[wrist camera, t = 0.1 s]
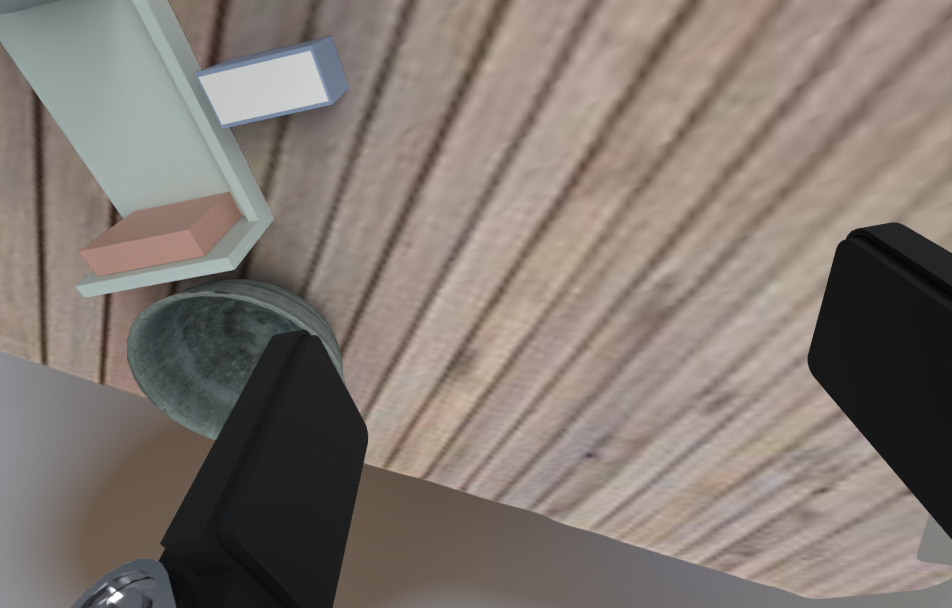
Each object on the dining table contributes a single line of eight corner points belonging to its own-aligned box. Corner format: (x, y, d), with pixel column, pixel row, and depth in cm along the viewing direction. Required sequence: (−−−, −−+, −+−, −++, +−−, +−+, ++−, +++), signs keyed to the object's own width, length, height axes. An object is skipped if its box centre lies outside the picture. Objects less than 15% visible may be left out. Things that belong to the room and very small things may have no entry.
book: (228, 60, 39) (193, 73, 34) (332, 35, 38) (311, 45, 33) (251, 109, 41) (221, 129, 36) (349, 88, 40) (332, 104, 35)
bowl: (289, 407, 63) (262, 472, 55) (139, 312, 53) (80, 373, 45) (399, 329, 55) (387, 391, 47) (247, 202, 46) (200, 252, 38)
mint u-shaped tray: (-35, -23, 35) (-183, -21, 27) (133, -69, 34) (30, -81, 26) (147, 243, 48) (84, 297, 40) (274, 218, 47) (234, 269, 39)
